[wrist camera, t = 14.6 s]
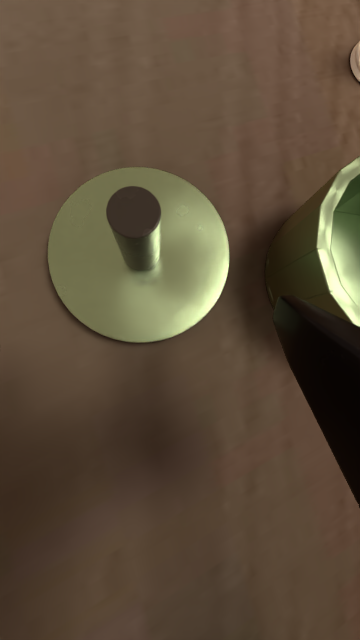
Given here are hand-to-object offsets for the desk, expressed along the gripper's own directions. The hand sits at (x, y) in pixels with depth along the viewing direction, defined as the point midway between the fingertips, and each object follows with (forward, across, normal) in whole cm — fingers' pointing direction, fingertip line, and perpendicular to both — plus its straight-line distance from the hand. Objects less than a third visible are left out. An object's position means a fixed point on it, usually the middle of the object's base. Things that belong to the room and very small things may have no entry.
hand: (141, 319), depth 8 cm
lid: (+11, 0, +3) cm, 11 cm away
